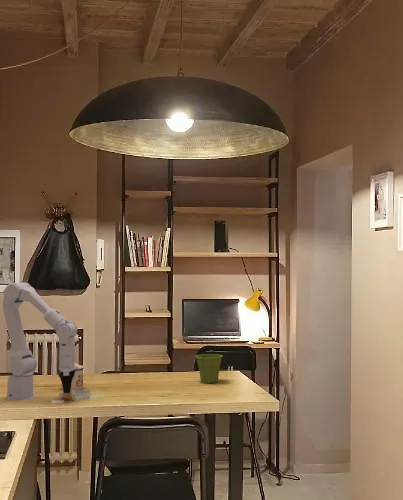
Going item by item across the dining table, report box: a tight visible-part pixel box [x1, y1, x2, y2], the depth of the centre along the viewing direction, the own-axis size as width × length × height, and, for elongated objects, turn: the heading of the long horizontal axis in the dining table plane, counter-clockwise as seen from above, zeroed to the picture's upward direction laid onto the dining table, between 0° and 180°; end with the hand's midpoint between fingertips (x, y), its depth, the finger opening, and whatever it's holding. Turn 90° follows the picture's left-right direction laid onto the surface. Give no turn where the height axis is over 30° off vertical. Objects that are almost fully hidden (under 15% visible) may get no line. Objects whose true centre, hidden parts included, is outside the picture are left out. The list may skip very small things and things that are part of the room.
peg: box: [61, 383, 73, 399], centre depth 241 cm, size 4×4×7 cm
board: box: [51, 394, 105, 404], centre depth 243 cm, size 20×15×1 cm
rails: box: [58, 389, 91, 402], centre depth 244 cm, size 12×12×2 cm
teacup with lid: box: [72, 362, 84, 390], centre depth 265 cm, size 12×9×12 cm
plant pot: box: [195, 353, 224, 384], centre depth 277 cm, size 12×12×11 cm
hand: (67, 391), depth 241 cm, fingers closed on peg, 4 cm apart
